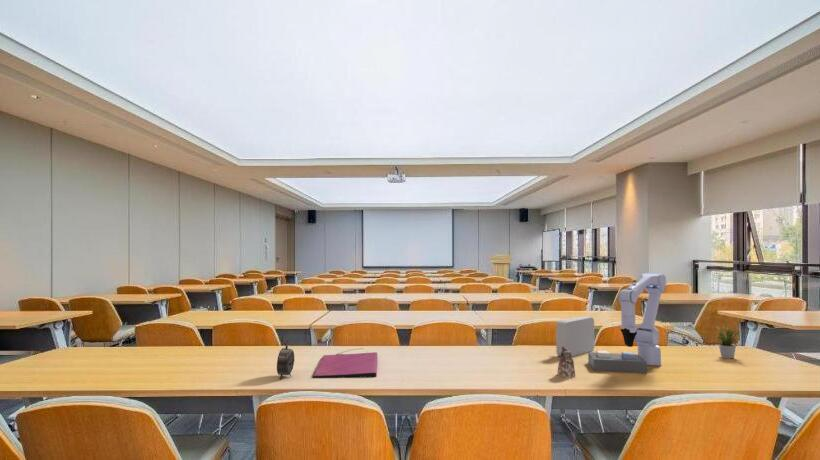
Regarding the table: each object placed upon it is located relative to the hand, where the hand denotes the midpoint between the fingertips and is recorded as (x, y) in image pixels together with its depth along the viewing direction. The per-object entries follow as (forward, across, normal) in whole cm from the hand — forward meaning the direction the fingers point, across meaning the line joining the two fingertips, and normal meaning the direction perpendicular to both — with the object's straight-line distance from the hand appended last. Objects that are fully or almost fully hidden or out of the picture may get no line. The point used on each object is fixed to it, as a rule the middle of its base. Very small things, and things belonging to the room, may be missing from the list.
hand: (628, 345), depth 203 cm
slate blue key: (+8, 0, 0) cm, 8 cm away
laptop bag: (+11, +24, -128) cm, 130 cm away
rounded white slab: (+11, -26, -20) cm, 34 cm away
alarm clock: (+11, +48, -146) cm, 155 cm away
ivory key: (+8, 0, -11) cm, 14 cm away
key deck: (+10, 0, -6) cm, 12 cm away
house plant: (+11, -34, +56) cm, 66 cm away
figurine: (+11, +18, -30) cm, 36 cm away
